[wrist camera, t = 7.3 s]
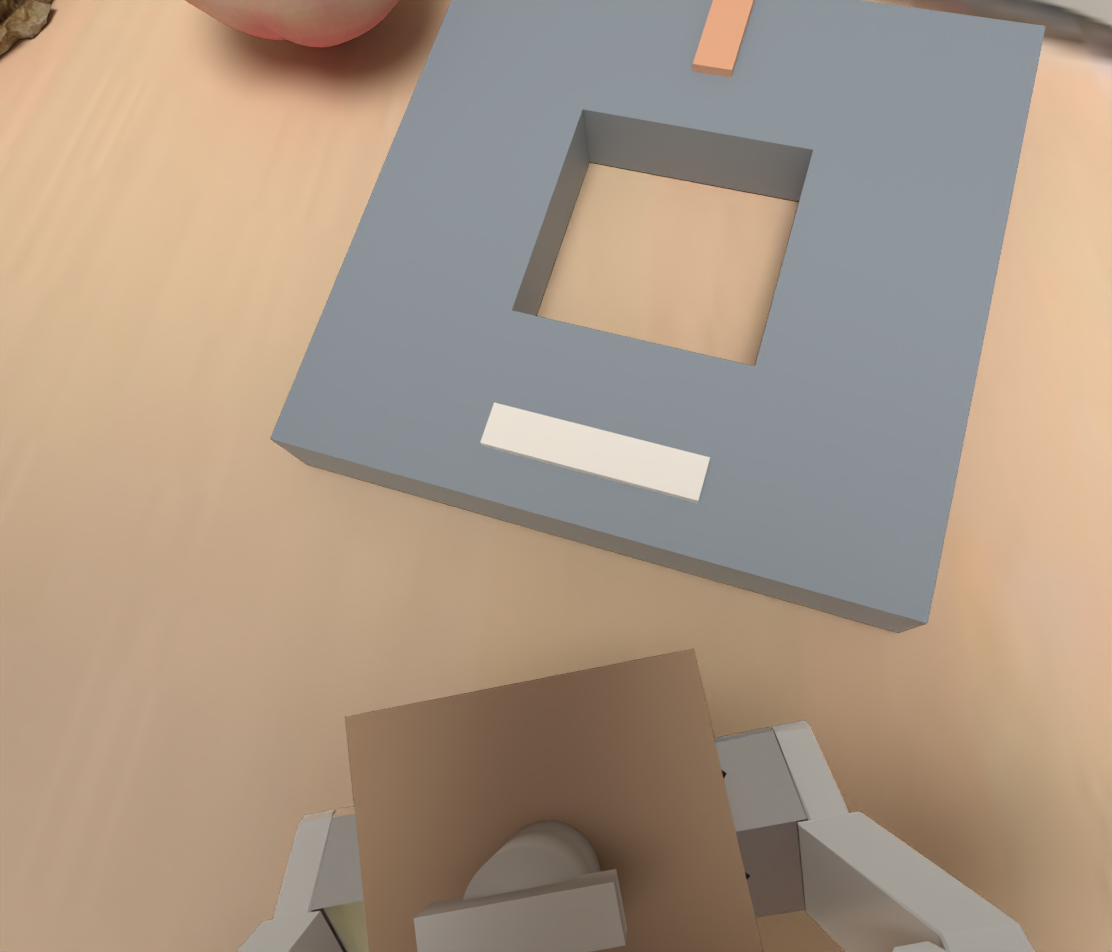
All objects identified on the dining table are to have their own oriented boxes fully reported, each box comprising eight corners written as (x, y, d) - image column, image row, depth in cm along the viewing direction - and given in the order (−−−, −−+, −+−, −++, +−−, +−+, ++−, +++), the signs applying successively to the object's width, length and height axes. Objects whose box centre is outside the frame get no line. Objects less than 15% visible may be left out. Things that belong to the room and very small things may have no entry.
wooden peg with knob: (507, 935, 16) (297, 1281, 6) (474, 713, 18) (256, 719, 8) (721, 896, 16) (840, 1195, 6) (672, 674, 18) (709, 630, 8)
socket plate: (306, 464, 25) (265, 435, 23) (488, 8, 30) (471, -62, 27) (898, 633, 22) (931, 621, 19) (1010, 88, 26) (1050, 17, 23)
